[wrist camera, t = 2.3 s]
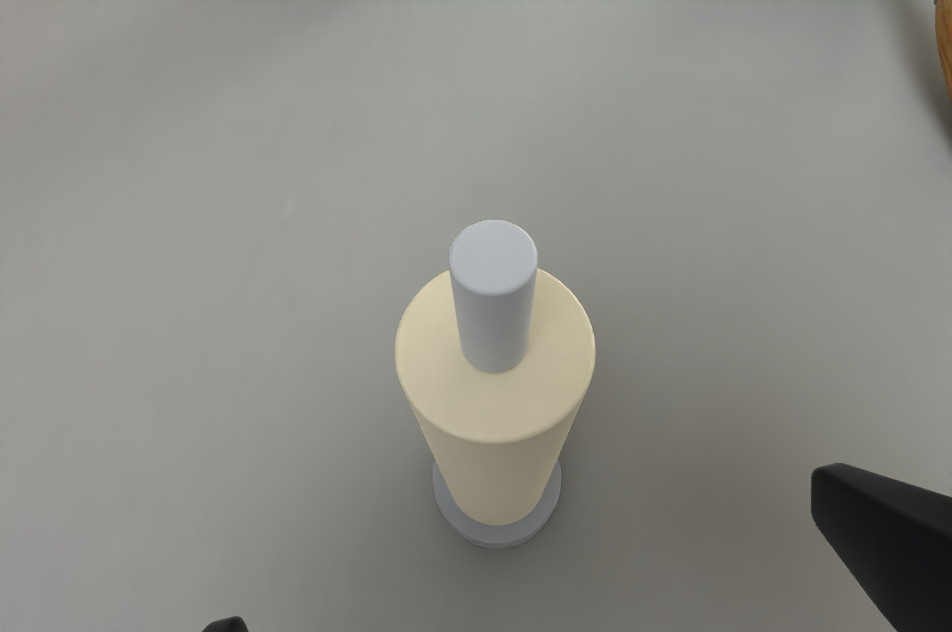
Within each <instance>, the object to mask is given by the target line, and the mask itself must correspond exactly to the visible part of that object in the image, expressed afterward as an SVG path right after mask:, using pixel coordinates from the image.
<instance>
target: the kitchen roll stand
mask: <svg viewBox="0 0 952 632" xmlns="http://www.w3.org/2000/svg"><path fill="white" fill-rule="evenodd" d="M448 265H449V270H447V271H445V272H443V273H442V274H440V275H439V276H437V277H435V278H434V279H433V280H431V281H430V282H429V283H428V284H426V285H425V286H424V287H423V288H422V289H421V290H420V291H419V292H418V293H417V294H416V296H415V297H414V298H413V300H412V301H411V302H410V304H409V305H408V307H407V309H406V311H405V312H404V314H403V316H402V319H401V321H400V324H399V326H398V330H397V334H396V340H395V365H396V370H397V375H398V378H399V381H400V384H401V386H402V389H403V391H404V393H405V395H406V397H407V399H408V402H409V404H410V406H411V408H412V410H413V412H414V415H415V417H416V419H417V421H418V423H419V425H420V428H421V430H422V432H423V434H424V436H425V439H426V441H427V443H428V445H429V447H430V449H431V452H432V454H433V456H434V458H435V459H434V463H433V468H432V487H433V492H434V496H435V499H436V502H437V504H438V507H439V509H440V511H441V512H442V514H443V515H444V517H445V518H446V520H447V521H448V523H449V524H450V526H451V527H452V528H453V529H454V530H455V531H456V532H457V533H458V534H459V535H460V536H461V537H462V538H464V539H465V540H467V541H469V542H471V543H473V544H475V545H477V546H480V547H483V548H489V549H506V548H511V547H515V546H517V545H520V544H522V543H524V542H526V541H528V540H529V539H531V538H532V537H533V536H535V535H536V534H537V533H538V532H539V531H540V530H541V529H542V527H543V526H544V525H545V523H546V522H547V520H548V519H549V517H550V516H551V514H552V512H553V510H554V509H555V507H556V504H557V501H558V499H559V495H560V490H561V468H560V463H559V459H558V456H559V454H560V452H561V449H562V447H563V445H564V442H565V440H566V438H567V435H568V433H569V431H570V428H571V426H572V424H573V421H574V419H575V417H576V414H577V412H578V410H579V407H580V405H581V403H582V400H583V398H584V396H585V393H586V391H587V389H588V386H589V384H590V381H591V378H592V375H593V370H594V366H595V355H596V350H595V339H594V334H593V329H592V326H591V324H590V321H589V318H588V316H587V314H586V312H585V310H584V308H583V307H582V305H581V304H580V302H579V301H578V299H577V298H576V297H575V296H574V294H573V293H572V292H571V291H570V290H569V289H568V288H567V287H566V286H565V285H564V284H562V283H561V282H560V281H559V280H558V279H556V278H555V277H553V276H552V275H550V274H549V273H547V272H545V271H543V270H541V269H539V268H537V266H538V253H537V249H536V246H535V244H534V242H533V240H532V239H531V237H530V236H529V235H528V234H527V233H526V232H525V231H524V230H523V229H521V228H520V227H518V226H517V225H515V224H512V223H510V222H506V221H502V220H485V221H480V222H477V223H475V224H472V225H470V226H468V227H467V228H465V229H464V230H463V231H462V232H461V233H460V234H459V235H458V236H457V237H456V238H455V240H454V241H453V243H452V245H451V247H450V250H449V254H448Z"/></svg>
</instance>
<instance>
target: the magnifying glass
mask: <svg viewBox="0 0 952 632" xmlns="http://www.w3.org/2000/svg"><path fill="white" fill-rule="evenodd" d="M934 4H935V5H936V12H935V29H936V39H937V45H938V50H939V55H940V60H941V65H942V69H943V73H944V77H945V81H946V85H947V89H948V92H949V95H950V99H951V102H952V0H934Z"/></svg>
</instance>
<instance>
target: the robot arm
mask: <svg viewBox="0 0 952 632" xmlns="http://www.w3.org/2000/svg"><path fill="white" fill-rule="evenodd" d="M811 513H812V517H813V520H814V522H815V524H816V526H817V527H818V529H819V530H820V531H821V533H822V534H823V536H824V537H825V538H826V540H827V541H828V542H829V544H830V545H831V546H832V548H833V549H834V550H835V552H836V553H837V554H838V556H839V557H840V558H841V560H842V561H843V562H844V564H845V565H846V566H847V568H848V569H849V570H850V572H851V573H852V575H853V576H854V577H855V579H856V580H857V581H858V583H859V584H860V585H861V587H862V588H863V589H864V591H865V592H866V593H867V595H868V596H869V597H870V599H871V600H872V601H873V603H874V604H875V605H876V606H877V608H878V609H879V610H880V612H881V613H882V614H883V615H884V617H885V618H886V619H887V620H888V621H889V622H890V624H891V625H892V626H893V627H894V628H895V629H896V631H897V632H952V497H949V496H946V495H942V494H939V493H936V492H933V491H930V490H926V489H923V488H920V487H917V486H914V485H911V484H907V483H904V482H901V481H898V480H895V479H891V478H888V477H885V476H882V475H879V474H875V473H872V472H869V471H866V470H863V469H859V468H856V467H853V466H850V465H847V464H843V463H834V464H830V465H826V466H822V467H818V468H816V469H815V470H814V471H813V473H812V475H811ZM202 632H249V631H248V629H247V627H246V624H245V622H244V621H243V619H242V618H241V617H239V616H233V617H229V618H225V619H221V620H218V621H214V622H212V623H210V624H209V625H208V626H207V627H206V628H205V629H204V630H203V631H202Z"/></svg>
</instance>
